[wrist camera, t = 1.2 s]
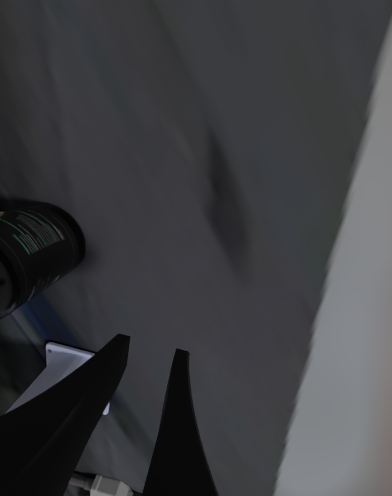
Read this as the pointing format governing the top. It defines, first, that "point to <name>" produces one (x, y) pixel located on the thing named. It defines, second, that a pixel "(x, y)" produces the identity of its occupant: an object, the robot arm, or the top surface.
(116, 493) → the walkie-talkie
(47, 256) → the supplement bottle
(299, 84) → the top surface
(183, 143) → the top surface
